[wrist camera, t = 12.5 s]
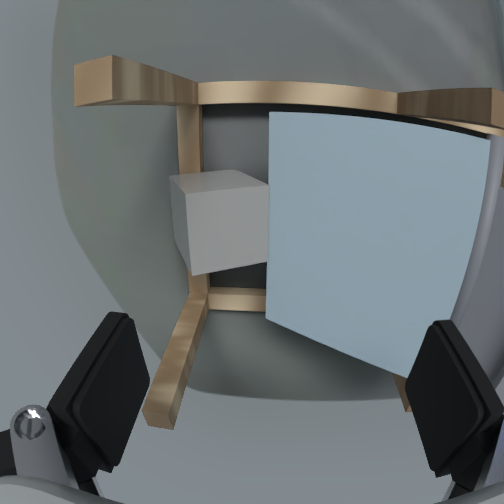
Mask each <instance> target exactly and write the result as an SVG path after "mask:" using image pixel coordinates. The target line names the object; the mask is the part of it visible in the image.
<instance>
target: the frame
mask: <svg viewBox="0 0 504 504" xmlns="http://www.w3.org/2000/svg"><path fill="white" fill-rule="evenodd" d="M74 103H75V107H78V106H98V105H168V106H177V131H178V155H179V175H181V174H190V173H199V172H204V165H203V130H202V105H206V104H233V103H275V104H302V105H319V106H332V107H343V108H353V109H362V110H370V111H378V112H385V113H391V114H398V115H404V116H410V117H415V118H421V119H426V120H431V121H436V122H441V123H445V124H450V125H454V126H458V127H462V128H466V129H470V130H474V131H478V132H482V133H485V134H487V133H489V134H494V135H497V136H501V137H504V92H501V91H499V90H496V89H493V88H457V89H438V90H424V91H413V92H402V93H394V92H388V91H382V90H376V89H369V88H361V87H353V86H344V85H334V84H322V83H308V82H288V81H227V82H207V83H197V82H194V81H191V80H189V79H186V78H183V77H180V76H178V75H175V74H172V73H169V72H166V71H163V70H160V69H157V68H154V67H151V66H148V65H145V64H142V63H138V62H135V61H132V60H128V59H125V58H121V57H118V56H114V55H110V56H106V57H102V58H98V59H94V60H90V61H86V62H83V63H79V64H76V65H74ZM500 187H502V188H504V164H503V172H502V179H501V185H500ZM187 273H188V282H189V291H190V293H189V296H188V298H187V300H186V303H185V305H184V307H183V310H182V312H181V314H180V317H179V319H178V321H177V324H176V326H175V329H174V331H173V333H172V336H171V338H170V341H169V343H168V346H167V348H166V350H165V353H164V355H163V358H162V360H161V363H160V365H159V368H158V370H157V373H156V375H155V378H154V380H153V383H152V385H151V388H150V390H149V393H148V396H147V398H146V401H145V404H144V406H143V409H142V412H143V415H144V417H145V419H146V421H147V424H148V426H154V427H159V428H165V429H171V430H173V429H174V426H175V422H176V419H177V415H178V412H179V408H180V405H181V401H182V398H183V394H184V391H185V387H186V384H187V381H188V377H189V374H190V370H191V367H192V364H193V360H194V357H195V354H196V350H197V347H198V344H199V340H200V337H201V334H202V330H203V327H204V324H205V321H206V317H207V314H208V311H209V309H218V310H239V311H266V289H262V288H233V287H210V277H209V273H205V274H200V275H194V276H192V275H191V273H190V271H189V269H188V267H187ZM392 374H393V376H394V379H395V382H396V385H397V388H398V391H399V394H400V397H401V400H402V403H403V406H404V409H405V412H412V409H411V406H410V404H409V401H408V398H407V395H406V392H405V383H406V380H407V378H405V377H403V376H400V375H398V374H395V373H393V372H392Z"/></svg>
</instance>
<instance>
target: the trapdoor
mask: <svg viewBox="0 0 504 504" xmlns="http://www.w3.org/2000/svg"><path fill="white" fill-rule="evenodd" d="M503 164H504V137H501V136H497V135H494V134H489V133H487V135H486V139H483V138H479V137H475V136H471V135H466V134H462V133H458V132H453V131H448V130H443V129H438V128H433V127H428V126H422V125H416V124H410V123H404V122H397V121H390V120H382V119H374V118H365V117H356V116H345V115H333V114H318V113H297V112H269V235H268V262H267V284H266V319H268V320H270V321H273V322H275V323H277V324H279V325H281V326H284V327H286V328H288V329H290V330H293V331H295V332H297V333H299V334H302V335H304V336H306V337H308V338H311V339H313V340H315V341H317V342H320V343H322V344H324V345H327V346H329V347H331V348H334V349H336V350H338V351H341V352H343V353H346V354H348V355H350V356H353V357H355V358H358V359H360V360H363V361H365V362H367V363H370V364H372V365H375V366H377V367H380V368H382V369H385V370H387V371H390V372H393V373H395V374H398V375H400V376H403V377H405V378H408V376H409V373H410V371H411V369H412V366H413V364H414V362H415V359H416V357H417V354H418V352H419V350H420V347H421V344H422V342H423V339H424V337H425V334H426V331H427V329H428V327H429V326H430V325H432V323H433V322H434V321H436V320H448V319H449V320H452V321H453V323H454V324H455V326H456V327H457V329H458V330H459V332H460V333H461V335H462V336H463V338H464V339H465V341H466V342H467V344H468V345H469V347H470V349H471V350H472V352H473V353H474V355H475V357H476V358H477V360H478V362H479V363H480V365H481V367H482V368H483V370H484V372H485V373H486V375H487V377H488V378H489V380H490V382H491V384H492V385H493V387H494V389H495V391H496V393H497V394H498V396H499V398H500V400H501V402H502V404H503V406H504V188H502V187H500V185H501V179H502V172H503ZM503 414H504V413H503Z"/></svg>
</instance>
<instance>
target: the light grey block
mask: <svg viewBox="0 0 504 504" xmlns="http://www.w3.org/2000/svg"><path fill="white" fill-rule="evenodd" d="M169 182H170V195H171V208H172V219H173V230H174V240H175V242H176V244H177V246H178V249H179V251H180V253H181V255H182V257H183V259H184V261H185V263H186V265H187V267H188V269H189V271H190V273H191V275H192V276H194V275H200V274H205V273H210V272H216V271H221V270H226V269H231V268H237V267H242V266H247V265H252V264H258V263H263V262H268V235H269V185H268V184H266V183H264V182H261V181H259V180H257V179H255V178H253V177H251V176H248V175H246V174H244V173H242V172H240V171H237V170H235V169H231V170H220V171H209V172H199V173H190V174H181V175H172V176H169Z"/></svg>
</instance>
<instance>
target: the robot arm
mask: <svg viewBox="0 0 504 504" xmlns="http://www.w3.org/2000/svg"><path fill="white" fill-rule="evenodd" d="M149 383H150V377H149V373H148V370H147V367H146V364H145V360H144V357H143V353H142V350H141V346H140V343H139V339H138V335H137V331H136V327H135V324H134V320H133V319H132V318H129V316H128V314H126V313H119V312H109V313H108V314H107V315H106V317H105V318H104V320H103V321H102V322H101V324H100V326H99V327H98V328H97V330H96V331H95V333H94V334H93V335H92V337H91V338H90V340H89V341H88V343H87V344H86V346H85V347H84V349H83V350H82V352H81V353H80V355H79V356H78V358H77V359H76V361H75V362H74V364H73V365H72V367H71V368H70V370H69V371H68V373H67V375H66V376H65V378H64V379H63V381H62V383H61V384H60V386H59V387H58V389H57V390H56V392H55V394H54V395H53V397H52V399H51V400H50V402H49V405H48V406H47V408H46V409H45V408H44V407H41V406H40V405H27V406H25V407H23V408H21V409H20V410H18V411H17V412H16V413H15V414H14V416H13V417H12V420H11V422H10V429H8V430H6V431H3V432H0V504H123V503H119V502H116V501H113V500H109V499H106V498H105V497H104V495H103V493H102V491H101V489H100V487H99V484H98V482H97V480H96V477H95V476H96V474H97V471H98V469H100V470H103V471H106V472H109V473H111V472H112V470H113V467H114V466H118V464H119V463H120V461H121V458H122V455H123V453H124V450H125V447H126V444H127V442H128V439H129V436H130V434H131V431H132V428H133V426H134V423H135V421H136V418H137V415H138V413H139V410H140V408H141V405H142V402H143V400H144V397H145V395H146V392H147V390H148V387H149ZM405 392H406V395H407V398H408V401H409V404H410V406H411V409H412V412H413V415H414V418H415V421H416V424H417V427H418V431H419V434H420V437H421V440H422V443H423V446H424V450H425V453H426V457H427V460H428V464H429V467H430V469H431V470H432V471H434V472H435V475H436V477H441V476H444V475H448V474H450V473H451V476H452V481H451V483H450V486H449V487H448V490H447V492H446V494H445V496H444V498H443V500H442V502H438V503H435V504H504V414H503V413H504V406H503V404H502V402H501V400H500V398H499V396H498V394H497V393H496V391H495V389H494V387H493V385H492V384H491V382H490V380H489V378H488V377H487V375H486V373H485V372H484V370H483V368H482V367H481V365H480V363H479V362H478V360H477V358H476V357H475V355H474V353H473V352H472V350H471V349H470V347H469V345H468V344H467V342H466V341H465V339H464V338H463V336H462V335H461V333H460V332H459V330H458V329H457V327H456V326H455V324H454V323H453V321H452V320H449V319H448V320H436V321H434V322H433V323H432V325H430V326H429V327H428V329H427V331H426V334H425V337H424V339H423V342H422V344H421V347H420V350H419V352H418V354H417V357H416V359H415V362H414V364H413V366H412V369H411V371H410V373H409V376H408V378H407V380H406V383H405Z"/></svg>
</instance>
